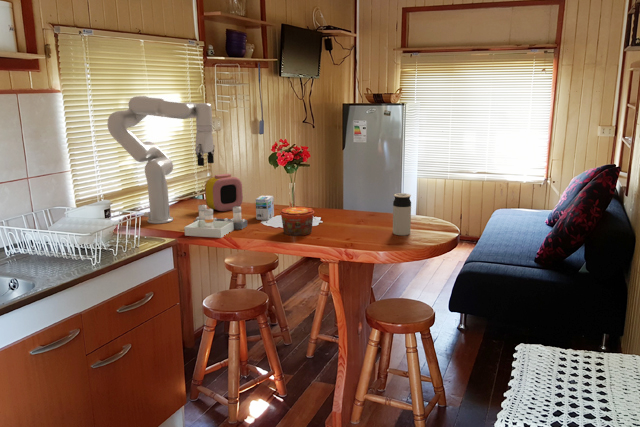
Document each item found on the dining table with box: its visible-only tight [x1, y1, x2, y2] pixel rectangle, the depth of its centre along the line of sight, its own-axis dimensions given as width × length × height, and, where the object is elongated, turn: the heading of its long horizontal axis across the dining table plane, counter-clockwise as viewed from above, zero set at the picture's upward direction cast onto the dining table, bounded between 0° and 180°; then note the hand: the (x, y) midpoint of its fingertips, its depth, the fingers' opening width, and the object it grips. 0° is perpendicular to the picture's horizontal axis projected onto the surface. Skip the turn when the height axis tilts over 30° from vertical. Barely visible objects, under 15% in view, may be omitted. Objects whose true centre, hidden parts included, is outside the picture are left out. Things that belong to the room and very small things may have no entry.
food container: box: [279, 206, 315, 237], centre depth 250 cm, size 16×16×11 cm
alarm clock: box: [204, 173, 244, 213], centre depth 299 cm, size 18×11×19 cm, turn 132°
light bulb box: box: [255, 195, 275, 221], centre depth 279 cm, size 11×7×11 cm, turn 168°
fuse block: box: [193, 216, 248, 230], centre depth 263 cm, size 25×7×4 cm, turn 76°
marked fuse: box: [204, 208, 214, 228], centre depth 251 cm, size 4×4×10 cm
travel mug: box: [392, 192, 412, 236], centre depth 245 cm, size 8×8×18 cm
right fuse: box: [232, 206, 243, 223], centre depth 260 cm, size 4×4×10 cm
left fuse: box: [197, 204, 208, 220], centre depth 265 cm, size 4×4×10 cm
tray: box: [183, 220, 235, 239], centre depth 252 cm, size 18×14×4 cm
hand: (205, 164), depth 265 cm, fingers open, 9 cm apart
